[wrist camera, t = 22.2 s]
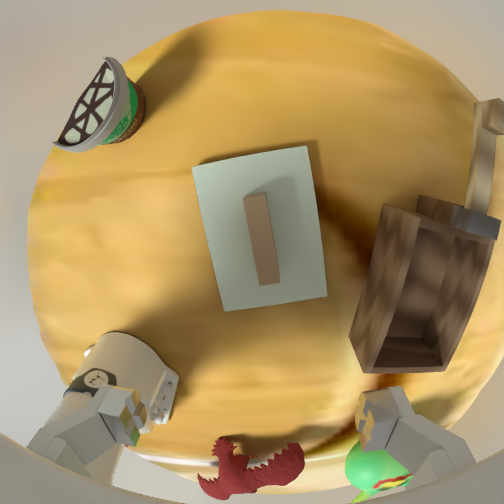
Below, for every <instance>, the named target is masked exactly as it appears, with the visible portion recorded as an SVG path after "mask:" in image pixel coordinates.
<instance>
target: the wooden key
mask: <svg viewBox="0 0 504 504" xmlns="http://www.w3.org/2000/svg"><path fill="white" fill-rule="evenodd" d="M496 135H504V101H502V100H501V99H499V98H497V99H492V100H488V101H483V102H478V103H474V129H473V145H472V157H471V166H470V174H469V182H468V188H467V195H466V201H465V206H464V208H466V209H470V210H473V211H476V212H479V213H482V214H485V215H487V210H488V205H489V199H490V193H491V186H492V178H493V170H494V159H495V146H496Z"/></svg>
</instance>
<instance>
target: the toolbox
mask: <svg viewBox="0 0 504 504" xmlns="http://www.w3.org/2000/svg"><path fill="white" fill-rule="evenodd" d="M500 224H501V220H498V219H496V218H493V217H490V216H487V215H485V214H482V213H479V212H476V211H473V210H470V209H466V208H464V206H460V205H457V204H453V203H450V202H446V201H442V200H438V199H434V198H431V197H427V196H422V195H419V200H418V206H417V211H416V212H413V211H409V210H405V209H400V208H396V207H391V206H387V205H382V210H381V215H380V220H379V225H378V230H377V234H376V239H375V243H374V248H373V252H372V256H371V260H370V264H369V268H368V272H367V276H366V279H365V283H364V287H363V290H362V294H361V297H360V301H359V304H358V307H357V311H356V314H355V317H354V320H353V324H352V327H351V330H350V333H349V339H350V341H351V344H352V346H353V349H354V351H355V353H356V356H357V358H358V361H359V363H360V366H361V368H362V371H363V373H425V372H442V371H445V370H446V368H447V366H448V364H449V362H450V360H451V358H452V356H453V354H454V352H455V350H456V348H457V346H458V344H459V342H460V340H461V337H462V335H463V333H464V331H465V328H466V326H467V324H468V321H469V319H470V316H471V314H472V311H473V309H474V306H475V304H476V301H477V298H478V295H479V293H480V290H481V287H482V284H483V281H484V278H485V275H486V271H487V268H488V265H489V261H490V258H491V254H492V250H493V246H494V242H495V240H497V237H498V233H499V228H500Z"/></svg>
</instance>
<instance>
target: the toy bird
mask: <svg viewBox="0 0 504 504" xmlns="http://www.w3.org/2000/svg"><path fill="white" fill-rule="evenodd" d="M345 473H346V476H347V478H348V480H349V481H350V483H351V484H352V485H354V486H355V487H357V488H359V489H361V490H362V492H361V493H360V494H359V495H358V496H357V497H356V498H355V499H354V500H353V501H352V502H351V503H355V502H360V501H364V500H366V499H368V498H370V497H371V496H373V495H375V494H376V493H378V492H380V491H384V490H389V489H392V488H395V487H398V486H407V484H408V483H409V482H410V480H411V479H412V478H413V476H414V475H413V474H412V473H410V472H409V471H408V470H407V469H406V468H405V467H403V466H402V465H401V464H400V463H399V462H398V461H396V460H395V459H394V458H393V457H392V456H391V455H390V454H388V453H387V452H386V451H385V449H382V450H376V451H370V452H364V453H363V451H362V447H361V443H360V441H359V442H358V443H356V444H355V445H354V446H353V448H352V449H351V450H350V452H349V454H348V456H347V458H346V462H345Z"/></svg>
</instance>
